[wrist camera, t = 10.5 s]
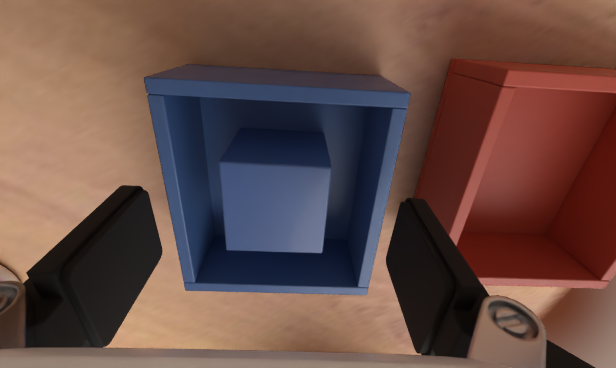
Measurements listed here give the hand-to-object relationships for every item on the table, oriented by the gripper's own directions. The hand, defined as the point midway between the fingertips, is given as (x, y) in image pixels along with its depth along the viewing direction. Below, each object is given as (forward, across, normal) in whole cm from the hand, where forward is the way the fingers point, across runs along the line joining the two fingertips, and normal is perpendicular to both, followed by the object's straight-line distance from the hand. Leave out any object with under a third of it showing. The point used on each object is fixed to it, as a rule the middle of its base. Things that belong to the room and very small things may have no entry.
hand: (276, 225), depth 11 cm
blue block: (+6, 0, +1) cm, 6 cm away
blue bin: (+7, 0, +1) cm, 7 cm away
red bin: (+7, -13, 0) cm, 15 cm away
